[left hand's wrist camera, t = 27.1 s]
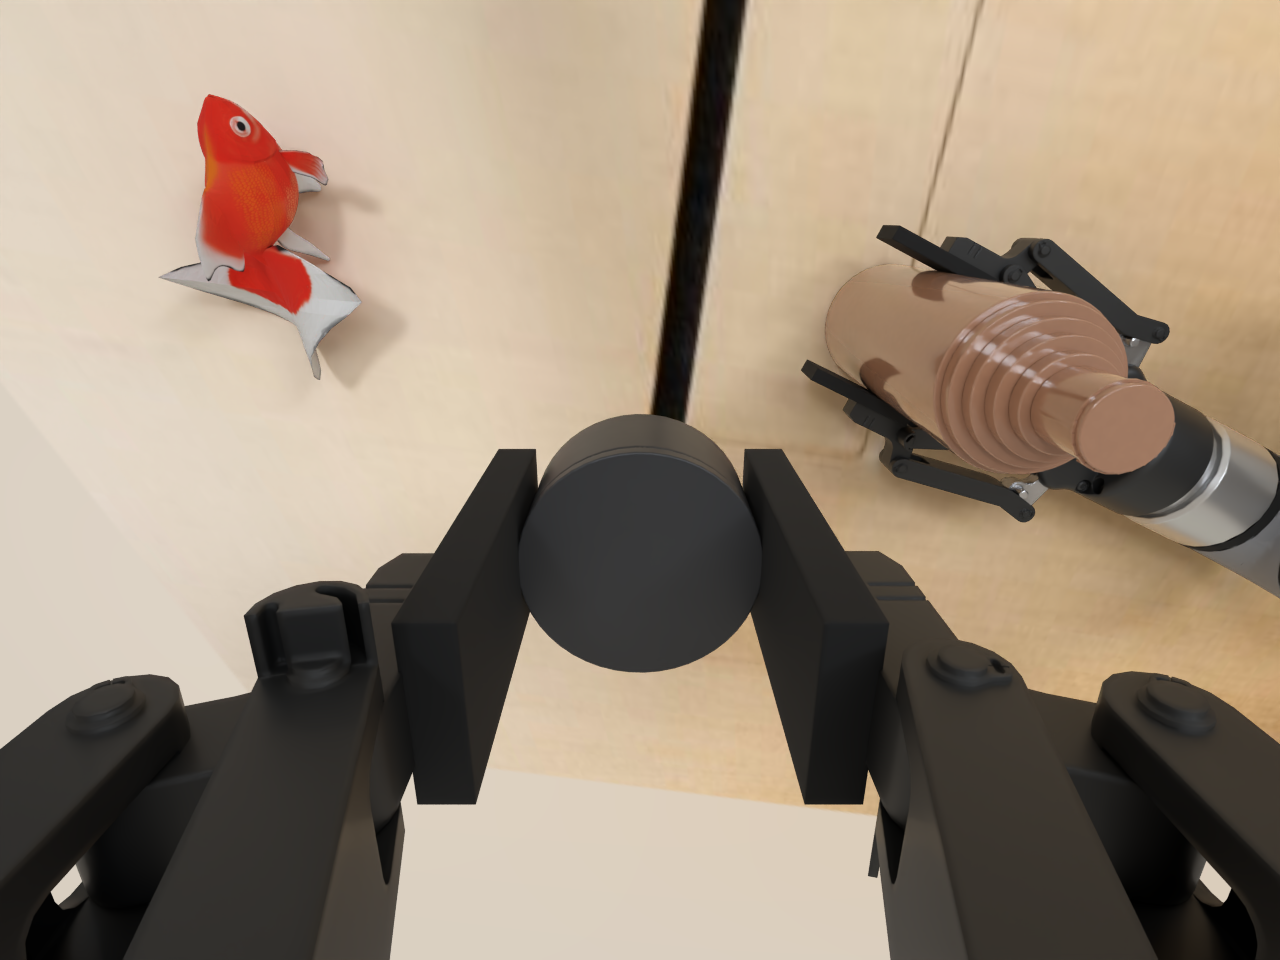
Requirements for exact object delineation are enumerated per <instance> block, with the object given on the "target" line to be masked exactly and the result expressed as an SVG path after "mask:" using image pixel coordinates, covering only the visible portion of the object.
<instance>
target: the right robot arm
mask: <svg viewBox="0 0 1280 960" xmlns="http://www.w3.org/2000/svg"><path fill="white" fill-rule="evenodd" d="M876 238H877V239H879V240H881V241H883V242H885V243H887V244H889V245H890V246H892V247H894V248H896V249H898V250H900V251H902V252H903V253H905V254H907V255H909V256H911V257H913V258H915V259H916V260H918V261H920V262H922V263H924V264H926V265H927V266H929V267H931V268H933V269H935V270H937V271H941V272H946V273H952V274H958V275H964V276H970V277H975V278H981V279H987V280H993V281H999V282H1004V283H1010V284H1016V285H1022V286H1028V287H1033V288H1036V286H1035V285H1034V283H1033V282H1032V280H1031V279H1030V277H1029V276H1028V274H1027V273H1029V272H1031V273H1032V274H1034V275H1035V276H1036V277H1037V278H1038V279H1039V280H1041V281H1042V282H1043V283H1044V284H1045V285H1046V286H1048V287H1049V288H1050V289H1051V290H1052V291H1057V292H1062V293H1066V294H1070V295H1073V296H1076V297H1078V298H1081V299H1083V300H1085V301H1086V302H1088V303H1090V304H1091V305H1093V306H1094V307H1095V308H1096V309H1098V310H1099V311H1100V312H1101V313H1102V314H1103V315H1104V316H1105V318H1106V319H1107V320H1108V321H1109V322H1110V323H1111V324H1112V326H1113V327H1114V328H1115V329H1116V331H1117V333H1118V334H1119V336H1120V338H1121V340H1122V342H1123V345H1124V347H1125V351H1126V355H1127V362H1128V378H1129V379H1140V380H1143V381H1147V380H1146V379H1145V376H1144V374H1143V372H1142V371H1141V369H1140V368H1139V366H1140V364H1141V362H1142V360H1143V358H1144V356H1145V354H1146V352H1147V351H1148V349H1149V347H1150V345H1151V343H1153V344H1158V343H1162V342H1163V341H1164V340H1166V338H1167V337H1168V335H1169V332H1170V331H1169V327H1168V325H1167V324H1165V323H1163V322H1160V321H1156V320H1153V319H1149V318H1146V317H1142V316H1139V315H1137V314H1136V313H1135V312H1133V311H1132V310H1131V309H1130V308H1129V307H1128V306H1127V305H1125V304H1124V303H1123V302H1122V301H1121V300H1120V299H1119V298H1117V297H1116V296H1115V295H1114V294H1113V293H1112V292H1110V291H1109V290H1108V289H1107V288H1106V287H1105V286H1104V285H1102V284H1101V283H1100V282H1099V281H1098V280H1097V279H1096V278H1094V277H1093V276H1092V275H1091V274H1090V273H1089V272H1087V271H1086V270H1085V269H1084V268H1083V267H1082V266H1081V265H1079V264H1078V263H1077V262H1076V261H1075V260H1074V259H1073V258H1071V257H1070V256H1069V255H1068V254H1067V253H1066V252H1064V251H1063V250H1062V249H1061V248H1060V247H1059V246H1058V245H1056V244H1055V243H1054V242H1053V241H1051V240H1050V239H1039V238H1020V239H1017V240H1016V241H1015V242H1014V243H1013V245H1012V247H1011V249H1010V250H1009V251H1008V252H1007V253H1006V254H1004V255H1003V256H999V255H997V254H995V253H994V252H992V251H990V250H988V249H986V248H985V247H983V246H981V245H979V244H977V243H975V242H974V241H972V240H970V239H968V238H962V237H946V239H945V240H944V242H943V244H942V245H941V247H938V246H936V245H934V244H932V243H931V242H929V241H927V240H925V239H923V238H922V237H920V236H918V235H916V234H914V233H912V232H911V231H909V230H907V229H905V228H903V227H901V226H895V225H883V226H882V228H881V230H880V232H879V233H878V235H877V237H876ZM801 371H802V372H803V373H804V374H805V375H806V376H808V377H809V378H810V379H811V380H812V381H814V382H816V383H818V384H820V385H823V386H825V387H827V388H829V389H831V390H833V391H835V392H837V393H839V394H841V395H843V396H845V397H847V398H849V400H848V401H847V403H846V405H845V406H844V408H843V411H844V412H845V413H846V414H847V415H848V417H850V418H851V419H852V420H853V421H854V422H855V423H857V424H859V425H861V426H863V427H866V428H868V429H870V430H872V431H874V432H876V433H878V434H880V435H882V436H884V437H885V446H884V449H883V450H882V451H881V452H880V455H879V459H880V461H881V462H882V463H883V464H884V465H885V466H886V467H887V468H888V469H889V470H890V471H891V472H892V473H893V474H894V475H895V476H896V477H899V478H902V479H906V480H909V481H913V482H916V483H920V484H923V485H927V486H930V487H934V488H937V489H941V490H944V491H948V492H951V493H955V494H958V495H962V496H966V497H969V498H973V499H976V500H980V501H983V502H987V503H990V504H994V505H997V506H1000V507H1001V508H1003V509H1004V510H1005V511H1006V512H1008V513H1009V514H1010V515H1012V516H1013V517H1014V518H1015V519H1017V520H1018V521H1020V522H1027V521H1030V520H1031V519H1032V518H1033V517H1034V515H1035V509H1034V508H1033V506H1031V505H1032V504H1033V503H1034V502H1035V501H1036V500H1037V499H1038V498H1039V497H1040V496H1042V495H1043V494H1044V493H1045V492H1046V491H1047V490H1048V489H1068V490H1072V491H1074V492H1076V493H1078V494H1080V495H1082V496H1084V497H1086V498H1088V499H1090V500H1092V501H1094V502H1096V503H1098V504H1100V505H1102V506H1104V507H1106V508H1108V509H1110V510H1112V511H1114V512H1116V513H1118V514H1122V515H1124V516H1125V517H1127V518H1129V519H1130V520H1132V521H1134V522H1136V523H1138V524H1140V525H1142V526H1144V527H1146V528H1148V529H1150V530H1152V531H1154V532H1156V533H1158V534H1160V535H1162V536H1164V537H1166V538H1168V539H1170V540H1172V541H1175V542H1177V543H1179V544H1181V545H1183V546H1186V547H1188V548H1191V549H1193V550H1194V551H1196V552H1198V553H1200V554H1202V555H1204V556H1205V557H1207V558H1209V559H1211V560H1213V561H1215V562H1217V563H1218V564H1220V565H1222V566H1224V567H1226V568H1228V569H1230V570H1232V571H1233V572H1235V573H1237V574H1239V575H1241V576H1243V577H1244V578H1246V579H1248V580H1250V581H1251V582H1253V583H1255V584H1256V585H1258V586H1260V587H1261V588H1263V589H1265V590H1267V591H1268V592H1270V593H1272V594H1273V595H1275V596H1277V597H1278V598H1280V456H1279V455H1277V454H1275V453H1273V452H1272V451H1270V450H1269V449H1267V448H1265V447H1263V446H1262V445H1260V444H1259V443H1258V442H1256V441H1254V440H1252V439H1250V438H1248V437H1246V436H1245V435H1243V434H1241V433H1239V432H1237V431H1235V430H1233V429H1231V428H1229V427H1227V426H1226V425H1224V424H1222V423H1220V422H1218V421H1216V420H1214V419H1212V418H1210V417H1208V416H1204V415H1203V414H1202V413H1201V412H1199V411H1198V410H1196V409H1194V408H1192V407H1190V406H1189V405H1187V404H1185V403H1183V402H1181V401H1179V400H1177V399H1176V398H1174V397H1172V396H1170V395H1168V394H1166V393H1164V392H1163V391H1162V392H1163V393H1164V394H1165V395H1166V396H1167V397H1168V399H1169V400H1170V402H1171V404H1172V406H1173V410H1174V416H1175V421H1174V422H1175V423H1176V424H1175V428H1174V432H1173V435H1172V436H1171V438H1170V440H1169V442H1168V443H1167V445H1166V447H1164V449H1163V450H1162V451H1161V452H1160V453H1159V454H1158V456H1157V457H1156V458H1154V459H1153V460H1151V461H1150V462H1149V463H1147V464H1146V465H1145V466H1142V467H1140V468H1138V469H1136V470H1134V471H1132V472H1131V471H1130V472H1126V473H1122V474H1103V473H1099V472H1095V471H1093V470H1091V469H1089V468H1087V467H1085V466H1084V465H1082V464H1081V463H1079V462H1077V461H1076V460H1077V459H1076V458H1074V459H1072V460H1070V461H1068V462H1067V463H1065V464H1062V465H1060V466H1058V467H1055V468H1052V469H1049V470H1046V471H1042V472H1036V473H1030V476H1028V477H1027V478H1025V479H1018V478H1015V477H1009V478H1006V477H1005V478H1003V479H1002V480H1001V482H999V481H998V480H997V479H995V478H993V477H991V476H989V475H986V474H983V473H980V472H976V471H973V470H970V469H966V468H963V467H959V466H956V465H952V464H949V463H945V462H942V461H938V460H935V459H931V458H928V457H924V456H921V455H918V454H914V453H912V451H913V448H914V449H938V450H949V449H947V448H946V447H945V446H943V445H942V444H941V443H939V442H938V441H937V440H935V439H934V438H933V437H931V436H930V435H929V434H927V433H926V432H925V431H923V430H922V429H921V428H919V427H918V426H917V425H915V424H914V423H913V422H911V421H910V420H909V419H907V418H906V417H904V416H903V415H902V414H900V413H899V412H898V411H896V410H895V409H894V408H892V407H891V406H890V405H888V404H887V403H886V402H884V401H883V400H882V399H880V398H879V397H878V396H876V395H875V394H874V393H872V392H871V391H870V390H868V389H866V388H864V387H862V386H860V385H858V384H856V383H854V382H852V381H850V380H848V379H846V378H844V377H842V376H840V375H838V374H835V373H833V372H831V371H829V370H827V369H825V368H823V367H821V366H819V365H817V364H815V363H813V362H811V361H809V360H807V361H806V362H805V364H804V366H803V368H802V369H801Z"/></svg>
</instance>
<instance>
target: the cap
mask: <svg viewBox="0 0 1280 960" xmlns="http://www.w3.org/2000/svg"><path fill="white" fill-rule="evenodd" d="M518 558H519V573H520V586H521V591H522V594H523V597H524V600H525V602H526V604H527V606H528V608H529V610H530V612H531V614H532V615H533V617H534V618H535V620H536V621H537V623H538V624H539V626H540V627H541V628H542V629H543V630H544V631H545V632H546V634H547V635H548V636H549V637H550V638H551V639H553V640H554V641H555V642H556V643H557V644H558V645H560V646H561V647H562V648H564V649H565V650H567V651H568V652H570V653H571V654H573V655H575V656H577V657H579V658H581V659H583V660H584V661H587V662H589V663H592V664H595V665H597V666H600V667H604V668H608V669H612V670H617V671H625V672H656V671H663V670H668V669H673V668H677V667H680V666H683V665H686V664H689V663H691V662H694V661H696V660H698V659H700V658H702V657H704V656H706V655H707V654H709V653H711V652H713V651H714V650H716V649H717V648H718V647H720V646H721V645H722V644H723V643H725V642H726V641H727V640H728V639H729V638H730V637H731V636H732V635H733V634H734V633H735V632H736V631H737V630H738V629H739V627H740V626H741V625H742V624H743V622H744V621H745V620H746V618H747V616H748V615H749V613H750V611H751V609H752V608H753V606H754V603H755V601H756V599H757V596H758V594H759V590H760V580H761V566H762V542H761V537H760V534H759V531H758V528H757V525H756V522H755V520H754V517H753V514H752V512H751V509H750V506H749V504H748V501H747V499H746V496H745V493H744V491H743V488H742V486H741V483H740V480H739V478H738V475H737V473H736V471H735V469H734V467H733V465H732V463H731V462H730V461H729V459H728V458H727V456H726V455H725V454H724V452H723V451H722V450H721V449H720V448H719V447H718V446H717V445H716V444H715V443H714V442H713V441H712V440H711V439H709V438H708V437H707V436H706V435H704V434H703V433H701V432H700V431H698V430H696V429H695V428H693V427H692V426H689V425H687V424H685V423H682V422H680V421H677V420H674V419H671V418H667V417H663V416H656V415H646V414H633V415H623V416H618V417H614V418H610V419H606V420H604V421H601V422H598V423H596V424H593V425H591V426H590V427H588V428H586V429H584V430H582V431H581V432H579V433H578V434H576V435H575V436H574V437H572V438H571V439H570V440H569V441H568V442H567V443H566V444H564V445H563V446H562V447H561V448H560V450H559V451H558V452H557V453H556V455H555V456H554V457H553V458H552V460H551V462H550V463H549V465H548V467H547V468H546V470H545V472H544V475H543V477H542V480H541V482H540V485H539V487H538V490H537V492H536V495H535V498H534V500H533V503H532V505H531V508H530V511H529V513H528V516H527V518H526V521H525V524H524V526H523V529H522V532H521V536H520V540H519V544H518Z"/></svg>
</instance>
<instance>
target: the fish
mask: <svg viewBox="0 0 1280 960" xmlns="http://www.w3.org/2000/svg"><path fill="white" fill-rule="evenodd" d="M197 126H198V137H199V142H200V146H201V149H202V152H203V154H204V157H205V187H206V188H205V189H204V192H203V196H202V201H201V206H200V212H199V217H198V223H197V231H196V238H195V240H196V245H197V250H198V255H199V258H200V261H201V263H197V264H192V265H188V266H184V267H180V268H178V269H176V270H173V271H171V272H169V273H167V274H164V275H162V276H160V277H159V278H162V279H165V280H168V281H171V282H175V283H178V284H181V285H184V286H187V287H190V288H194V289H197V290H200V291H203V292H207V293H210V294H214V295H217V296H221V297H224V298H227V299H231V300H234V301H238V302H241V303H244V304H247V305H250V306H253V307H256V308H259V309H262V310H265V311H267V312H270V313H273V314H275V315H277V316H279V317H282V318H284V319H286V320H288V321H290V322H292V323H293V324H295V325H296V326H297V329H298V331H299V334H300V336H301V339H302V342H303V344H304V348H305V350H306V353H307V356H308V358H309V361H310V364H311V367H312V370H313V374H314V377H315V378H317V379H318V380H320V375H321V368H320V364H319V359H318V356H317V352H316V347H317V345H318V343H319V342H320V341H321V340H322V339H323V337H324V336H325V335H326V334H327V333H328V332H329V331H330V329H331V328H332V327H334V326H335V325H336V324H338V323H339V322H340V321H342V320H343V319H344V318H346V317H347V316H348V315H349V314H350V313H351V312H352V311H353V310H354V309H355V308H356V307H357V306H358V305H359V304H360V303H361V300H360V299H359V298H358V297H357V295H356V294H355V293H354V291H353V290H352V289H351V288H350V287H348V286H347V285H345V284H343V283H342V282H340V281H338V280H337V279H335V278H334V277H332V276H330V275H329V274H327V273H325V272H324V271H322V270H321V269H319V268H318V267H316V266H315V265H313V264H311V263H310V262H308V261H306V260H304V259H302V258H301V257H299V256H297V255H295V254H293V253H291V252H290V251H288V250H286V249H289V250H292V251H295V252H300V253H304V254H308V255H311V256H315V257H318V258H321V259H324V260H328V261H329V260H330V258H329V257H328V256H326V255H325V254H324V253H323V252H321V251H320V250H319V249H318V248H316V247H315V246H314V245H313V244H311V243H310V242H309V241H307V240H305V239H304V238H302V237H301V236H299V235H297V234H296V233H294V232H293V231H292V230H290V229H289V228H288V227H289V226H290V224H291V222H292V221H293V218H294V216H295V213H296V210H297V205H298V197H299V193H304V192H317V191H320V190H321V186H320V184H319V183H318V182H320V183H322V184H323V185H327V182H328V177H327V175H326V173H325V171H324V166H323V162H322V160H321V159H319V158H318V157H316V156H313V155H311V154H310V153H308V152H303V151H291V150H282V149H281V148H280V147H279V145H278V144H277V143H276V141H275V139H274V138H273V137H272V136H271V135H270V134H269V132H268V131H267V130H266V129H265V128H264V127H263V126H262V125H261V123H259V122H258V121H257V120H256V119H255V118H254V117H253V116H252V115H251V114H249V113H248V112H247V111H246V110H244V109H243V108H242V107H240V106H239V105H238V104H236V103H234V102H232V101H230V100H227V99H224V98H221V97H218V96H214V95H211V94H209V95H208V96H207V97H206V98H205V100H204V103H203V106H202V110H201V113H200V116H199V119H198V123H197ZM316 180H317V181H318V182H317V181H316ZM276 241H278V242H279V243H280V244H281V245H282V246H283V247H285V248H286V249H284V248H282V247H280V246H278V245H275V246H273V244H274V243H275V242H276Z"/></svg>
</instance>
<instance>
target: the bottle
mask: <svg viewBox="0 0 1280 960" xmlns="http://www.w3.org/2000/svg"><path fill="white" fill-rule="evenodd" d="M825 335H826V342H827V346H828V349H829V352H830V354H831V356H832V358H833V360H834V361H835V362H836V364H837V365H838V366H839V367H840V368H841V369H842V370H843V371H844V372H845V373H847V374H848V375H849V376H851V377H852V378H853V379H855V380H856V381H858V382H859V383H860V384H862V385H863V386H864V387H866V388H867V389H868V390H870V391H871V392H872V393H874V394H875V395H876V396H878V397H879V398H880V399H882V400H883V401H884V402H886V403H887V404H888V405H890V406H891V407H892V408H894V409H895V410H896V411H898V412H899V413H900V414H902V415H903V416H904V417H906V418H907V419H909V420H910V421H911V422H913V423H914V424H915V425H917V426H918V427H919V428H921V429H922V430H923V431H925V432H926V433H927V434H929V435H930V436H931V437H933V438H934V439H935V440H937V441H938V442H939V443H941V444H942V445H943V446H945V447H946V448H947V449H949V450H950V451H951V452H953V453H954V454H956V455H957V456H958V457H960V458H961V459H962V460H964V461H965V462H967V463H969V464H971V465H973V466H975V467H977V468H980V469H983V470H985V471H990V472H995V473H1006V474H1030V473H1036V472H1042V471H1046V470H1049V469H1052V468H1055V467H1058V466H1060V465H1062V464H1065V463H1067V462H1068V461H1070V460H1072V459H1074V458H1076V459H1077V460H1076V461H1077V462H1079V463H1081V464H1082V465H1084V466H1085V467H1087V468H1089V469H1091V470H1093V471H1095V472H1099V473H1103V474H1122V473H1126V472H1130V471H1131V472H1132V471H1134V470H1136V469H1138V468H1140V467H1142V466H1145V465H1146V464H1147V463H1149V462H1150V461H1151V460H1153V459H1154V458H1156V457H1157V456H1158V454H1159V453H1160V452H1161V451H1162V450H1163V449H1164V447H1166V445H1167V443H1168V442H1169V440H1170V438H1171V436H1172V435H1173V432H1174V428H1175V424H1176V423H1175V422H1174V421H1175V416H1174V410H1173V406H1172V404H1171V402H1170V400H1169V399H1168V397H1167V396H1166V395H1165V394H1164V393H1163V392H1162V391H1161V390H1159V388H1157V387H1156V386H1154V385H1153V384H1151V383H1150V382H1147V381H1143V380H1140V379H1129V378H1128V362H1127V355H1126V351H1125V347H1124V345H1123V342H1122V340H1121V338H1120V336H1119V334H1118V333H1117V331H1116V329H1115V328H1114V327H1113V326H1112V324H1111V323H1110V322H1109V321H1108V320H1107V319H1106V318H1105V316H1104V315H1103V314H1102V313H1101V312H1100V311H1099V310H1098V309H1096V308H1095V307H1094V306H1093V305H1091V304H1090V303H1088V302H1086V301H1085V300H1083V299H1081V298H1078V297H1076V296H1073V295H1070V294H1066V293H1062V292H1057V291H1051V290H1045V289H1039V288H1033V287H1028V286H1022V285H1016V284H1010V283H1004V282H999V281H993V280H987V279H981V278H975V277H970V276H964V275H958V274H952V273H946V272H941V271H935V270H929V269H923V268H917V267H912V266H906V265H900V264H883V265H878V266H874V267H871V268H868V269H866V270H864V271H862V272H860V273H859V274H857V275H856V276H854V277H853V278H851V279H850V280H849V281H848V282H847V283H846V284H845V285H844V286H843V287H842V288H841V289H840V291H839V292H838V293H837V295H836V296H835V298H834V300H833V302H832V304H831V306H830V308H829V311H828V315H827V319H826V326H825Z"/></svg>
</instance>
